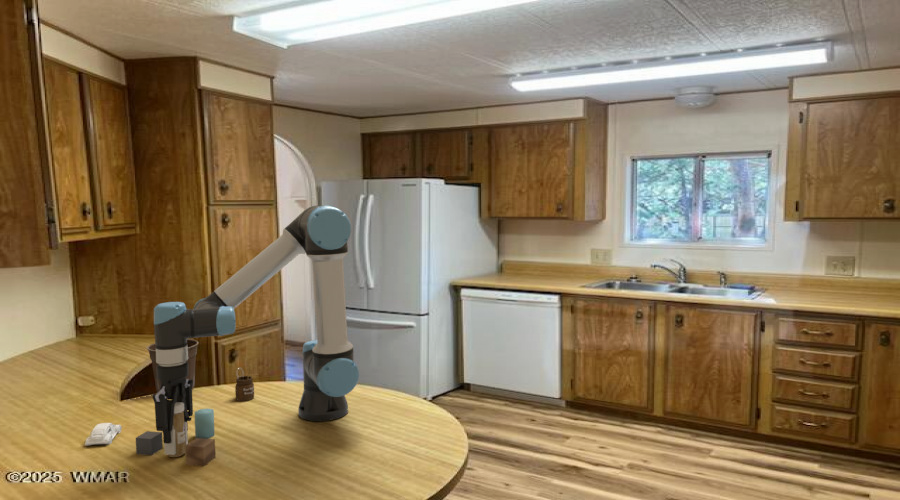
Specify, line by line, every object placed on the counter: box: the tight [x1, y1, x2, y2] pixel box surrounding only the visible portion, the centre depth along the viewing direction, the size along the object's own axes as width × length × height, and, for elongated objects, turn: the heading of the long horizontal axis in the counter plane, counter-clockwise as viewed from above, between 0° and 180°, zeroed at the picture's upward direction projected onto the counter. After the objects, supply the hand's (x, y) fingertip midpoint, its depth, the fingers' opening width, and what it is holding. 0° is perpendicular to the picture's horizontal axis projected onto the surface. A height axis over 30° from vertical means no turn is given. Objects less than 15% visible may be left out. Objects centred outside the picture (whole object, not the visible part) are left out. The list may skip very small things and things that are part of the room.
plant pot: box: [146, 338, 199, 394], centre depth 210 cm, size 16×16×16 cm
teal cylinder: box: [194, 408, 216, 439], centre depth 170 cm, size 5×5×7 cm
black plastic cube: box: [135, 430, 164, 456], centre depth 160 cm, size 4×4×4 cm
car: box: [84, 422, 123, 447], centre depth 168 cm, size 12×6×5 cm, turn 10°
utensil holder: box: [234, 360, 255, 402], centre depth 201 cm, size 6×6×12 cm
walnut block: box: [185, 437, 216, 467], centre depth 154 cm, size 5×5×5 cm
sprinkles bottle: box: [167, 402, 186, 458], centre depth 157 cm, size 5×5×13 cm
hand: (176, 449), depth 157 cm, fingers closed on sprinkles bottle, 4 cm apart
